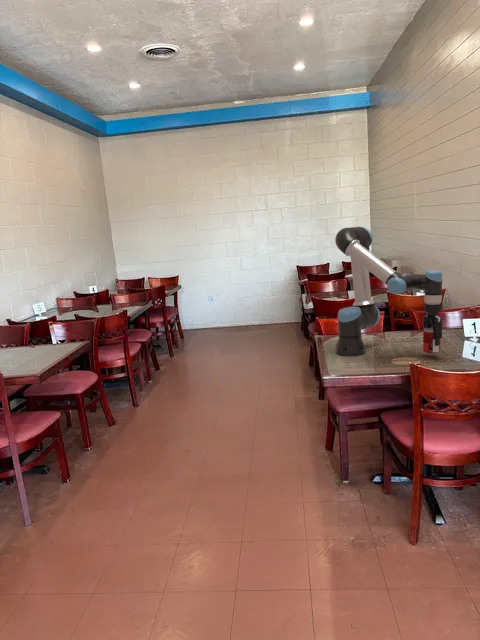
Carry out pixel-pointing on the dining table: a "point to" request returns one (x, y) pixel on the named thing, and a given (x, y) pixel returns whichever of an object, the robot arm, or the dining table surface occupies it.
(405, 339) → the dining table surface
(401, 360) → the disc
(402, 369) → the dining table surface
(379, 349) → the dining table surface
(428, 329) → the canned food
